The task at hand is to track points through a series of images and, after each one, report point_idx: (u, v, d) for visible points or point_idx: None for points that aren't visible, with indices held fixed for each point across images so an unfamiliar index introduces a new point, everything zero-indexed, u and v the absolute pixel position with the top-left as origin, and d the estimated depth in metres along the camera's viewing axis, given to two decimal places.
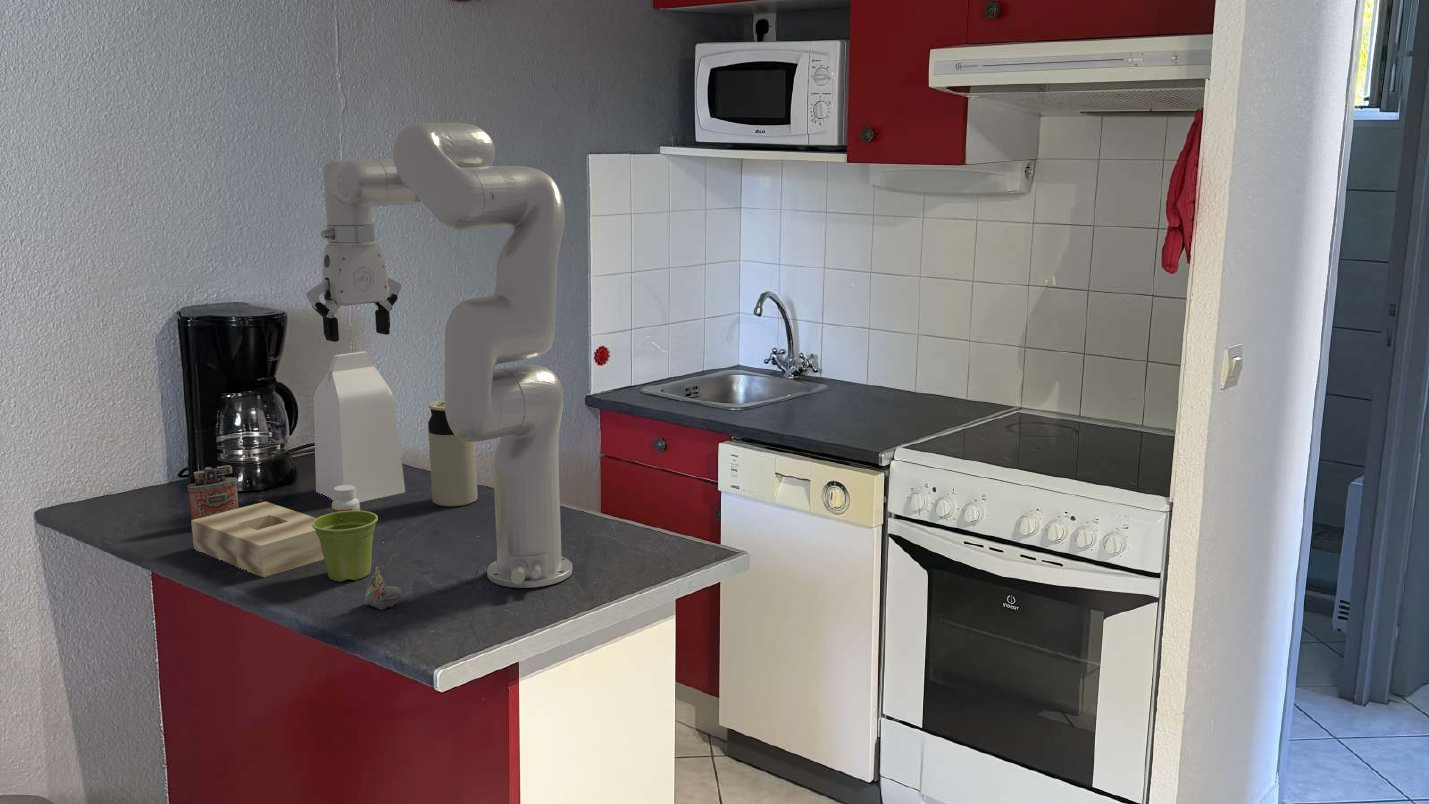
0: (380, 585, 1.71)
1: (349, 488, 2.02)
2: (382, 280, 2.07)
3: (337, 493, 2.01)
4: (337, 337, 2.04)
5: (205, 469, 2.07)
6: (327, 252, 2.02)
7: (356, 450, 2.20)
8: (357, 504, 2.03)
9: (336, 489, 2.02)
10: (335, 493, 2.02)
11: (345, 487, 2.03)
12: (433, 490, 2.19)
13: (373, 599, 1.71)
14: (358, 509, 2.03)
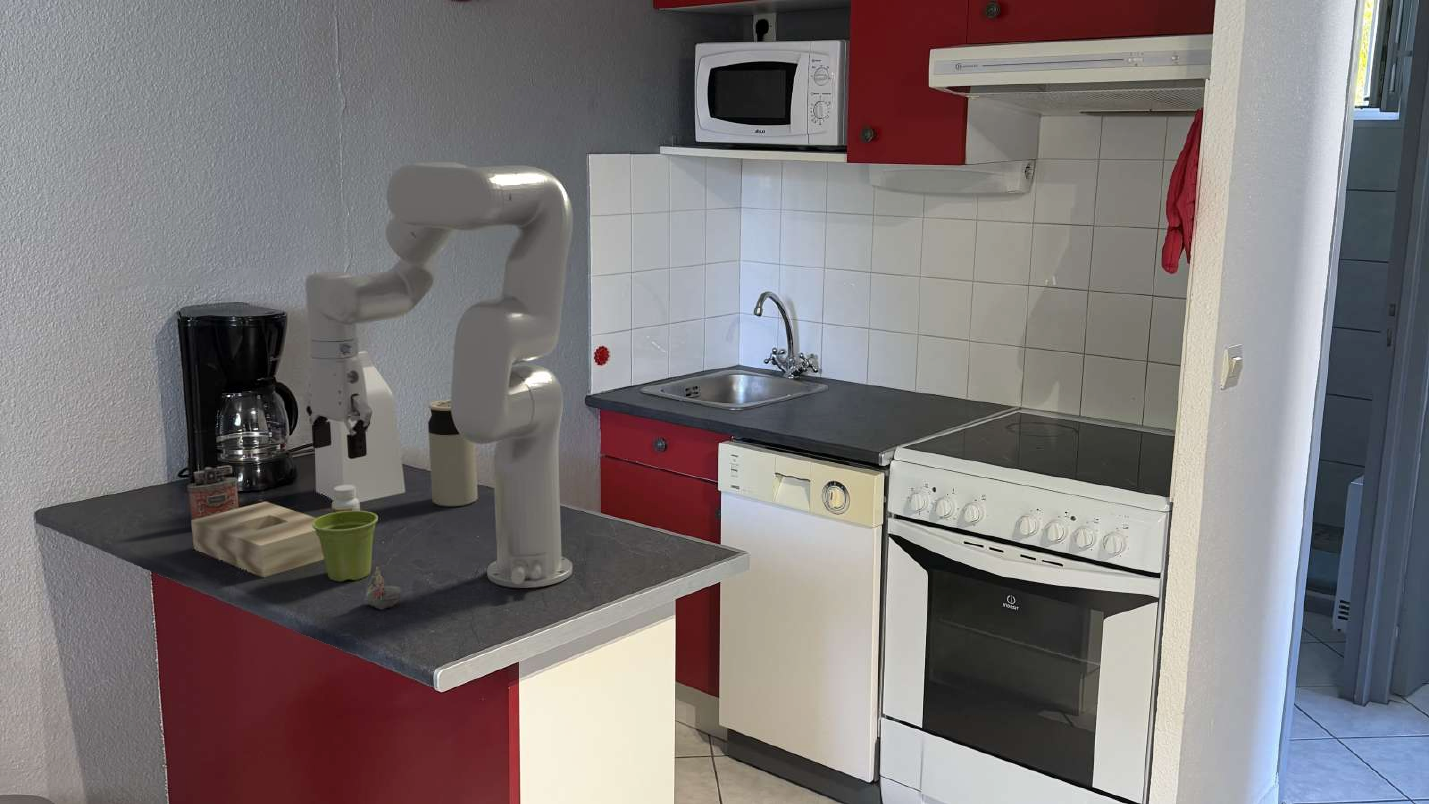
0: (380, 585, 1.71)
1: (349, 488, 2.02)
2: None
3: (337, 493, 2.01)
4: (365, 450, 2.00)
5: (205, 469, 2.07)
6: (351, 368, 1.96)
7: None
8: (357, 504, 2.03)
9: (336, 489, 2.02)
10: (335, 493, 2.02)
11: (345, 487, 2.03)
12: (433, 490, 2.19)
13: (373, 599, 1.71)
14: (358, 509, 2.03)
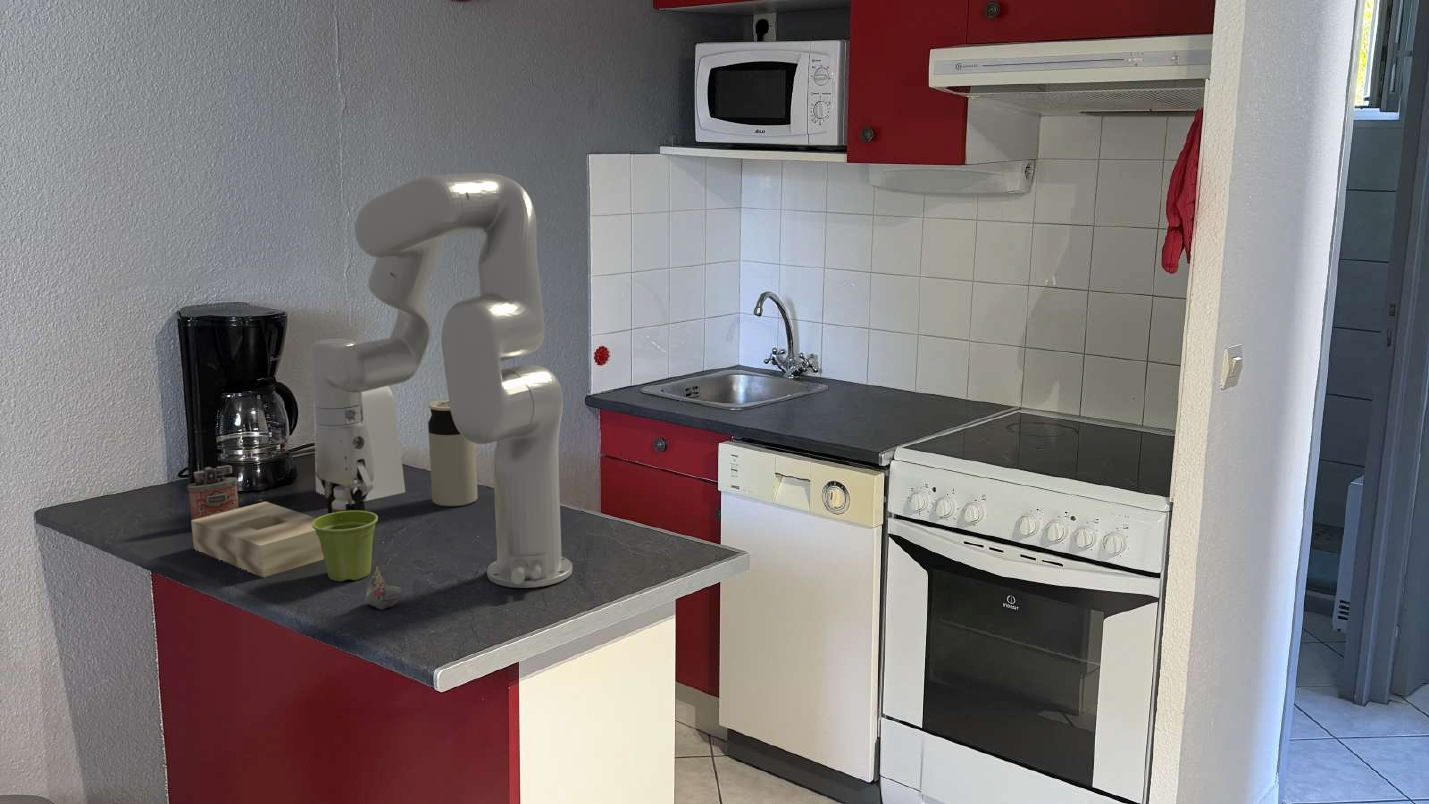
0: (380, 585, 1.71)
1: None
2: None
3: (337, 493, 2.01)
4: None
5: (205, 469, 2.07)
6: (356, 434, 1.98)
7: None
8: None
9: (336, 489, 2.02)
10: (335, 493, 2.02)
11: None
12: (433, 490, 2.19)
13: (373, 599, 1.71)
14: None
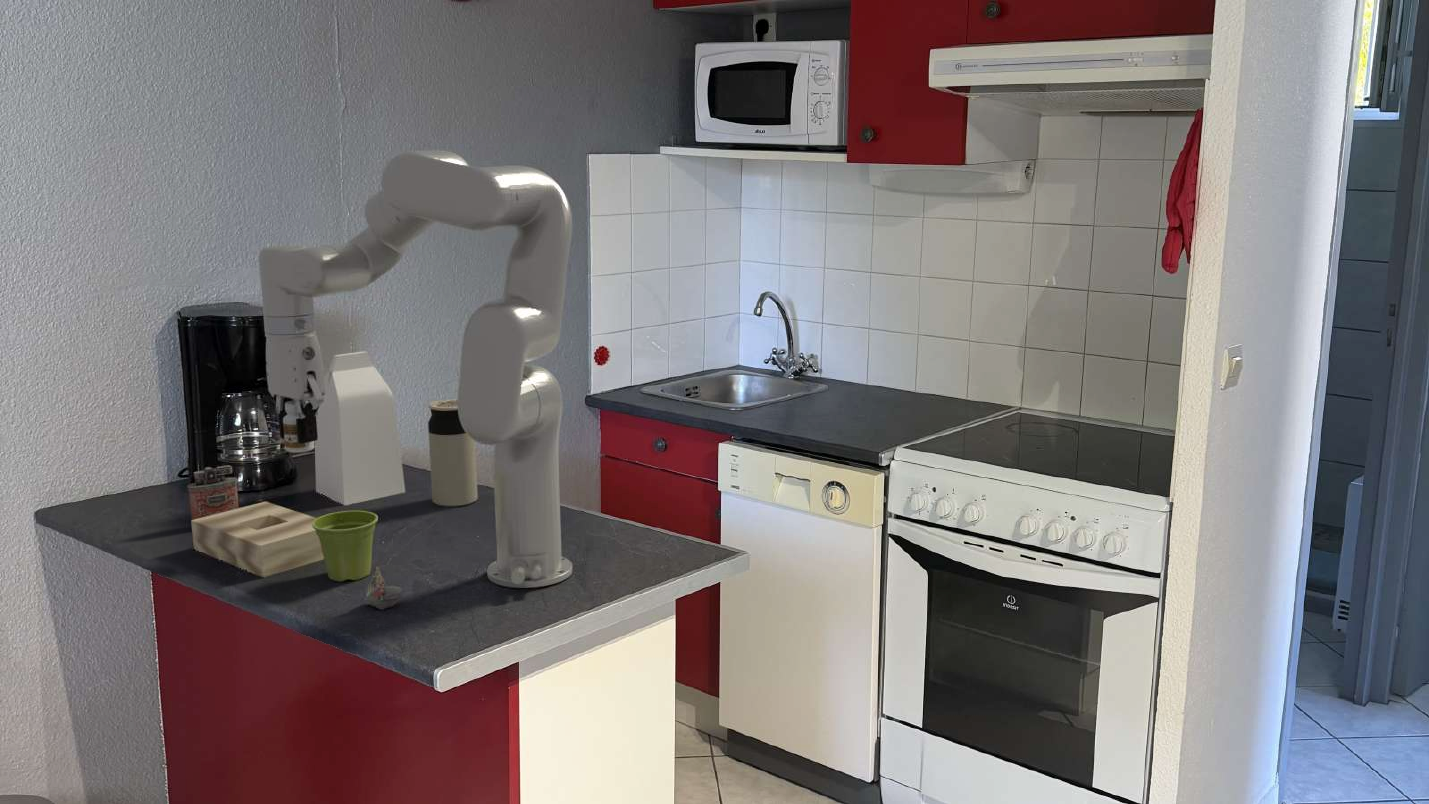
0: (381, 585, 1.71)
1: None
2: None
3: (288, 408, 1.93)
4: None
5: (205, 469, 2.07)
6: (306, 344, 1.90)
7: (355, 450, 2.20)
8: None
9: (287, 403, 1.94)
10: (286, 407, 1.94)
11: None
12: (433, 490, 2.19)
13: (374, 599, 1.71)
14: None
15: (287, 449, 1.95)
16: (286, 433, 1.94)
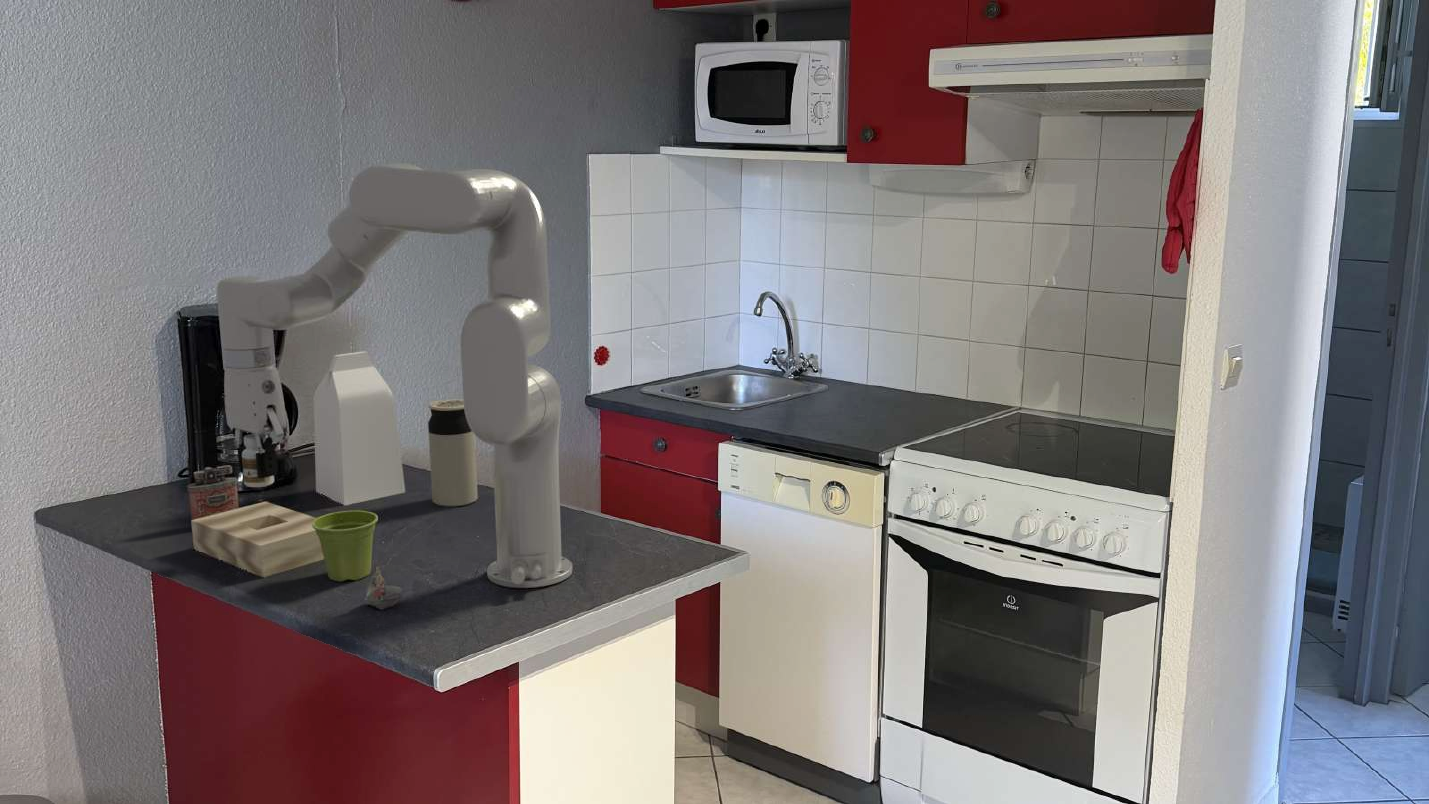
0: (381, 585, 1.71)
1: None
2: None
3: (247, 442, 1.89)
4: None
5: (205, 469, 2.07)
6: (266, 378, 1.86)
7: (355, 450, 2.20)
8: None
9: (246, 437, 1.90)
10: (245, 441, 1.90)
11: None
12: (433, 490, 2.19)
13: (374, 599, 1.71)
14: None
15: (246, 484, 1.91)
16: (245, 467, 1.90)
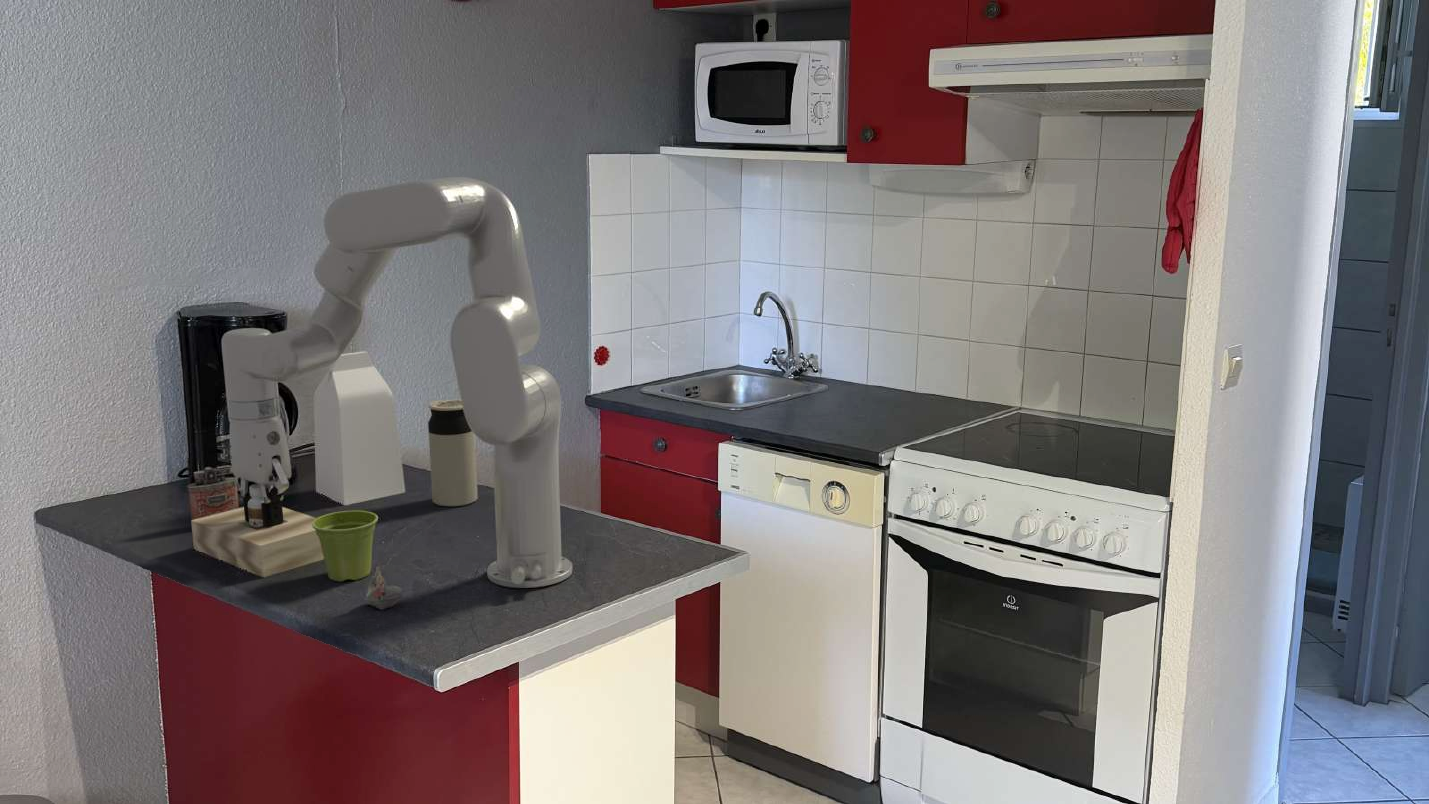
0: (381, 585, 1.71)
1: None
2: None
3: (253, 492, 1.91)
4: None
5: (205, 469, 2.07)
6: (271, 429, 1.87)
7: (355, 450, 2.20)
8: None
9: (252, 487, 1.91)
10: (250, 491, 1.91)
11: None
12: (433, 490, 2.19)
13: (374, 599, 1.71)
14: None
15: None
16: (251, 517, 1.91)
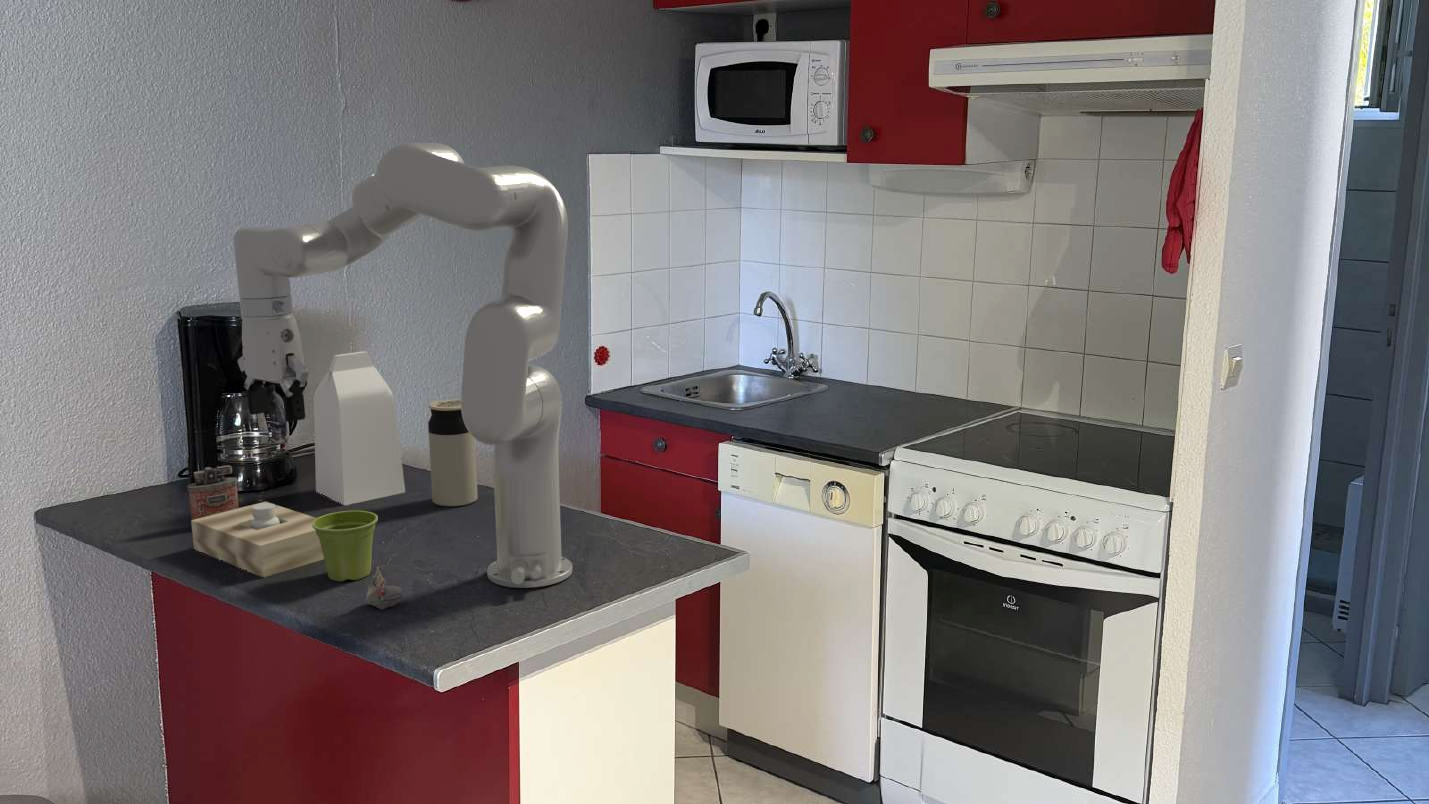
0: (381, 585, 1.71)
1: (268, 507, 1.92)
2: None
3: (255, 513, 1.91)
4: (303, 413, 1.91)
5: (205, 469, 2.07)
6: (285, 326, 1.87)
7: (355, 450, 2.20)
8: (277, 523, 1.93)
9: (254, 508, 1.92)
10: (253, 512, 1.92)
11: (264, 506, 1.93)
12: (433, 490, 2.19)
13: (374, 599, 1.71)
14: None
15: None
16: None
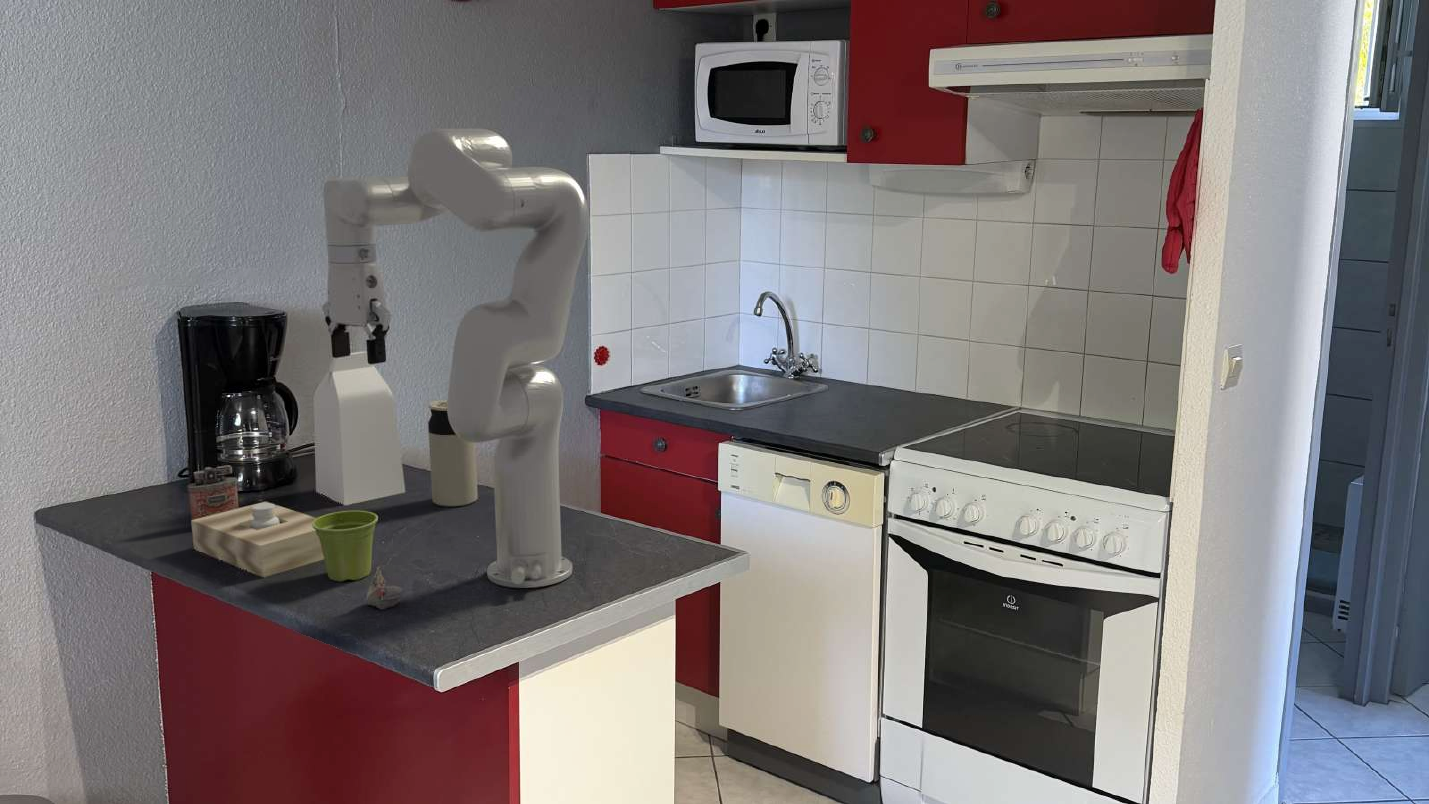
0: (381, 585, 1.71)
1: (268, 507, 1.92)
2: None
3: (255, 513, 1.91)
4: (384, 357, 2.01)
5: (205, 469, 2.07)
6: (369, 273, 1.97)
7: (355, 450, 2.20)
8: (277, 523, 1.93)
9: (254, 508, 1.92)
10: (253, 512, 1.92)
11: (264, 506, 1.93)
12: (433, 490, 2.19)
13: (374, 599, 1.71)
14: None
15: None
16: None
